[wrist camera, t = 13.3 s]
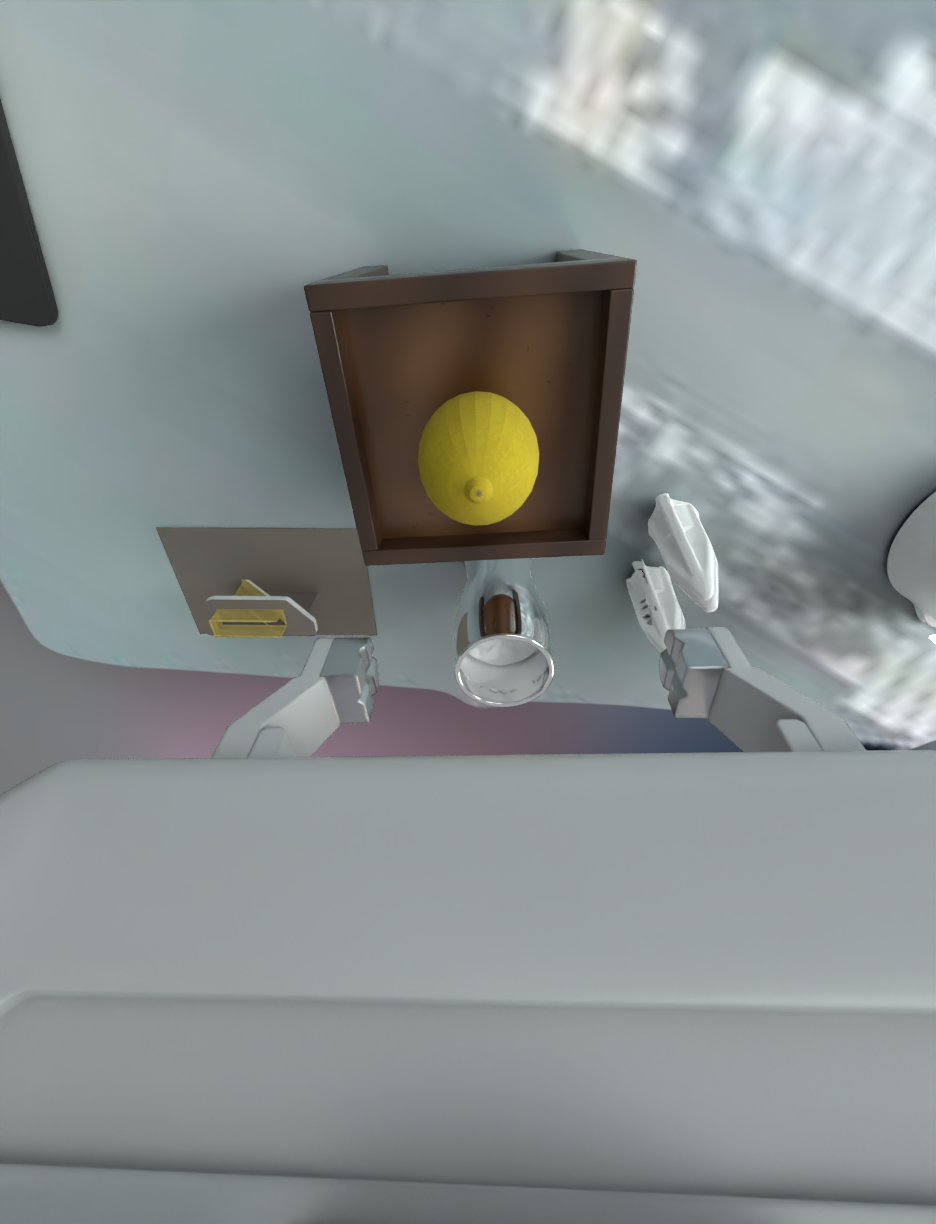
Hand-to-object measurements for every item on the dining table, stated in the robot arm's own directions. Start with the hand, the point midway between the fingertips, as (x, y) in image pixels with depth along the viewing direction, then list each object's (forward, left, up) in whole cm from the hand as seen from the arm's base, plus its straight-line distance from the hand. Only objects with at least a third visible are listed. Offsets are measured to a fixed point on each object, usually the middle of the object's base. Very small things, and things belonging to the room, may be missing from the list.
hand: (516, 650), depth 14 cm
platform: (+21, +16, -29) cm, 39 cm away
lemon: (+1, -1, -16) cm, 16 cm away
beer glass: (0, +14, -29) cm, 32 cm away
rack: (+1, -1, -29) cm, 29 cm away
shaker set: (-14, +14, -29) cm, 35 cm away
